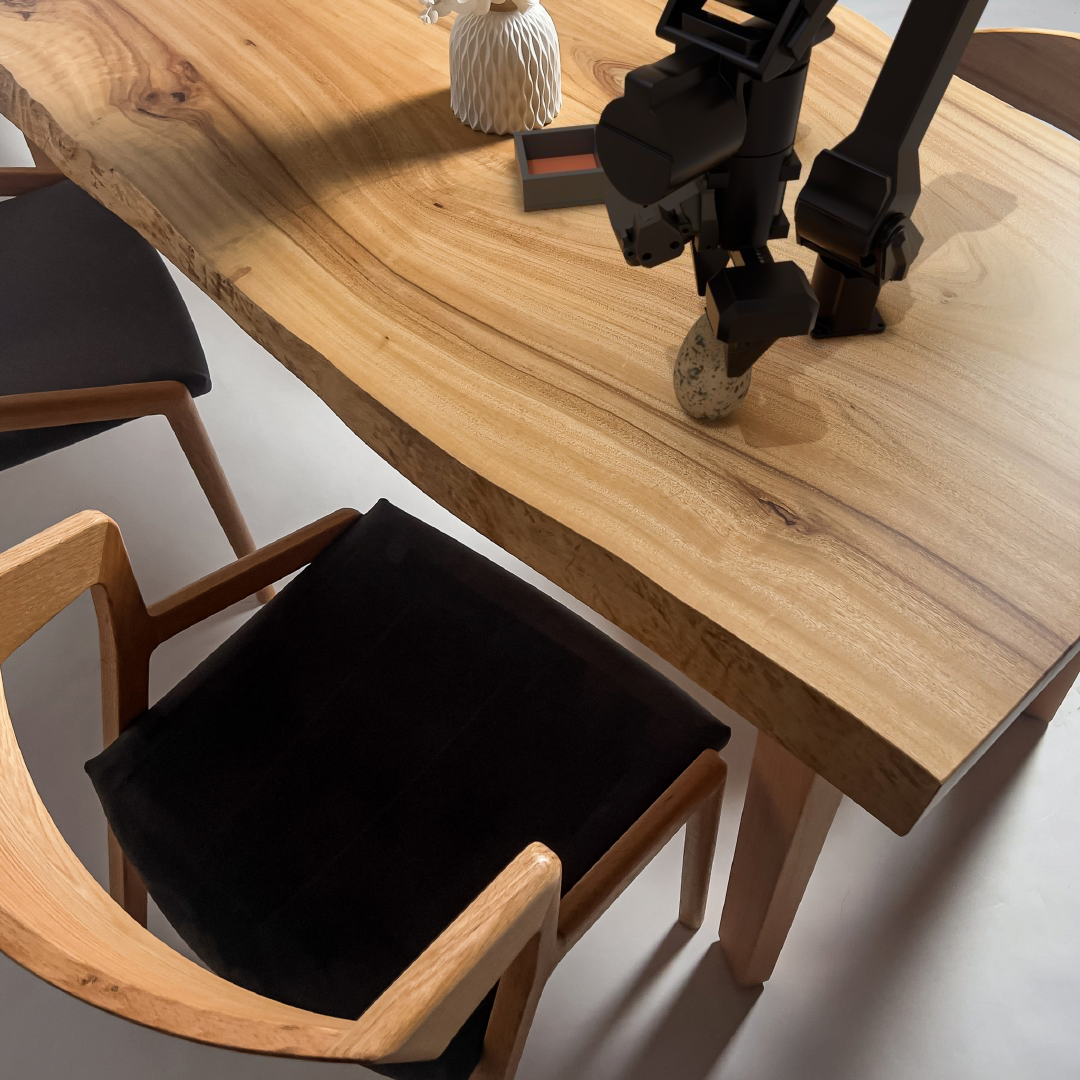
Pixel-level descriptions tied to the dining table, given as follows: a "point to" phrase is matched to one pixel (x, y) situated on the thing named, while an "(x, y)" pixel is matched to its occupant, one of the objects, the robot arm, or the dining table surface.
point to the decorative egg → (706, 375)
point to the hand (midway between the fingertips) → (718, 333)
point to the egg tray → (559, 167)
